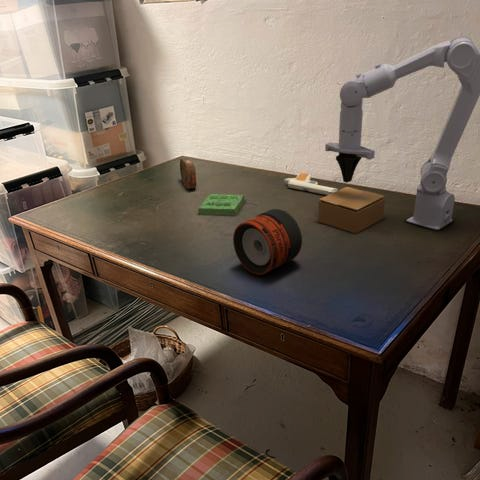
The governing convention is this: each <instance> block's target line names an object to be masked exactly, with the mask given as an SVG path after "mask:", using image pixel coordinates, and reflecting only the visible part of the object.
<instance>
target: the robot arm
mask: <svg viewBox="0 0 480 480" xmlns="http://www.w3.org/2000/svg"><path fill="white" fill-rule="evenodd" d="M445 63H446V64H447V66H448V68H449V69H450V70H451V71H452V72H453V73H454V74H455V75H457V78H458V81H459V83H460V88H459V90H458V93H457V95H456V97H455V99H454V102H453V105H452V107H451V109H450V111H449V114H448V116H447V118H446V121H445V124H444V125H443V128H442V130H441V133H440V135H439V137H438V140H437V142H436V145H435V147H434V149H433V150H432V152H431V154H430V155H429V157H428V159H427V161H425V162H424V163H423V164H422V166H421V168H420V182H419V184H418V185H417V188H416V193H415V202H414V209H413V216H410V217H409V218H407V219H406V222H407V223H410V224H414V225H417V226H422V227H424V228H427V229H432V230H434V231H435V230H436V231H438V230H440V229H442V228H444V227H446V226H447V225H448V224H450V223H452V222H453V219H452V218H453V212H454V206H455V200H456V198H455V194H453V193H451V192H449V191H447V186H446V185H447V182H448V172H449V171H450V167H451V162H452V160H453V159H452V158H453V156H454V154H455V152H456V149H457V147H458V145H459V143H460V140H461V138H462V136H463V134H464V132H465V129H466V128H467V125H468V122H469V120H470V118H471V116H472V114H473V111H474V109H475V107H476V105H477V103H478V100H479V98H480V51H479V49H478V47H477V45H475V43H474V41H473V39H471V38H470V37H468V36H465V35H459V36H457V37H454V38H453V39H451V40H444V41H442V42H440V43H437V44H435V45H433V46H430V47H428V48H426V49H424V50H422V51H420V52H418V53H417V54H414V55H412V56H410V57H408V58H406V59H404V60H402V61H400V62H398V63H396V64H394V65H391V64H389V63H383V64H382V63H381V62H378V63H377V64H375V66H374V68H373V69H370V70H368V71H366V72H363V73H361V72H359V73H357V74H356V75H355V77H356V78H355V77H351V78H349V79H347V80H346V81H345V82H344V83H343V85H342V86H341V88H340V91H339V100H340V101H341V103H340V111H339V125H338V126H339V127H338V142H331V141H330V142H327V143H325V148H324V149H325V150H324V151H325V152H333V153H338V155H336V156H335V160H336V162H337V164H338V167H339V168H340V172H341V177H342V182H343V183H347V184H348V183H349V182H352V180H353V178H354V174H355V171H356V169H357V166H358V164H359V163H360V161H361V160H362V158H364V159H366V160H369V161H371V160H372V159H374V158H375V155H376V154H375V153H376V150H374V149H370V148H367V147H365V146H362V131H363V116H364V115H363V114H364V110H363V101H364V100H363V99H369V98H371V97H374V96H376V95H379V94H381V93H383V92H385V91H388V90H390V89H393V88H394V86H395V84H396V81H397V80H398V79H401V78H404V77H406V76H409V75H411V74H414V73H416V72H418V71H421V70H423V69H426V68H428V67H437V68H442V69H444V68H445Z"/></svg>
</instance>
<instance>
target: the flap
mask: <svg viewBox="0 0 480 480" xmlns="http://www.w3.org/2000/svg"><path fill="white" fill-rule="evenodd" d="M365 191H366V190H363V189H362V190H361V189H358V188H354V187H351V186H344V187H343V188H340V189H338V191H336V192H334V193H332V194H329V195H324V196H323V197H321V198H319V199H318V201H323V202H327V203H330V204H333V205H336V206H338V204H340V203H342V202H344V201H346V200H348V199H350V198H352V197H354V196H356V195H359V194H361V193H363V192H365Z"/></svg>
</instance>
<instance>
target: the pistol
mask: <svg viewBox="0 0 480 480" xmlns="http://www.w3.org/2000/svg"><path fill="white" fill-rule="evenodd" d="M311 179H312V174H310V173H301V172H299V173H298V174H297V176H296V177H287V178H284V180H283V183H284V184H286V185H287V188H289V189H294V190H299V191H304V192H307V193H313V194H317V195H322V196H327V195H329V194H332V193H334V192H336V191H338V190H339V188H336V187H330V186H325V185H319V182H317V181H315V180H311Z"/></svg>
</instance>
